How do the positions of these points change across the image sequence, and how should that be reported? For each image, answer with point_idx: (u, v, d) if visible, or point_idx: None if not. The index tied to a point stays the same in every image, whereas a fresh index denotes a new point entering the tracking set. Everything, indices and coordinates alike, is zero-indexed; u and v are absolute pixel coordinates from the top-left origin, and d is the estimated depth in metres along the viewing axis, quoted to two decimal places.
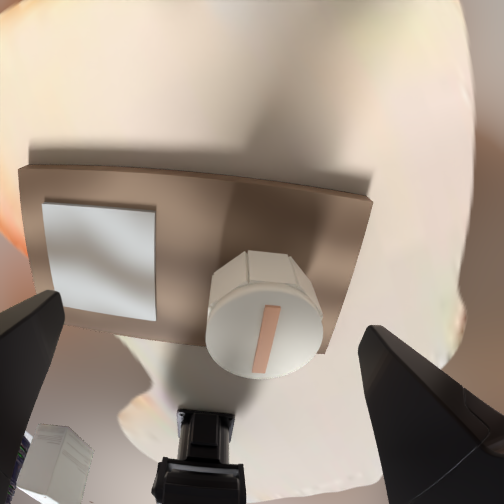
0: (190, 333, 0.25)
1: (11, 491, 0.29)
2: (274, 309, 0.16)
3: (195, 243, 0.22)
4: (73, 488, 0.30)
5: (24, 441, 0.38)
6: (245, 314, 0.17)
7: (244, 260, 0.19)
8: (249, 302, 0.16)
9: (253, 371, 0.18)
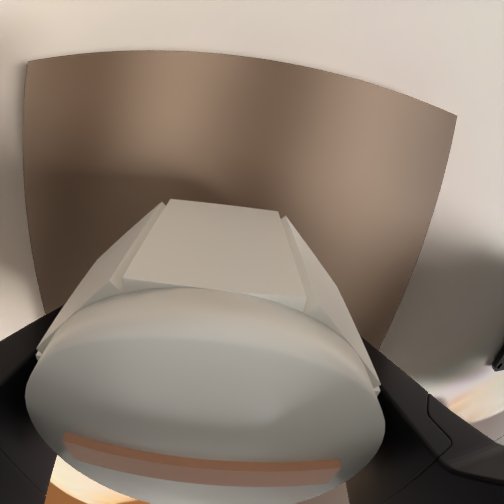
0: None
1: None
2: (70, 449, 0.04)
3: None
4: None
5: None
6: (118, 476, 0.05)
7: None
8: (84, 466, 0.05)
9: (322, 482, 0.05)
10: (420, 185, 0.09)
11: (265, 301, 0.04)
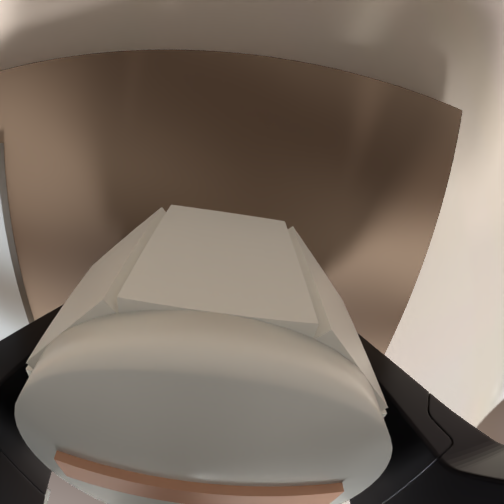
0: None
1: None
2: (62, 467, 0.04)
3: (72, 205, 0.09)
4: None
5: None
6: (111, 492, 0.05)
7: None
8: (76, 481, 0.05)
9: None
10: None
11: (274, 327, 0.04)
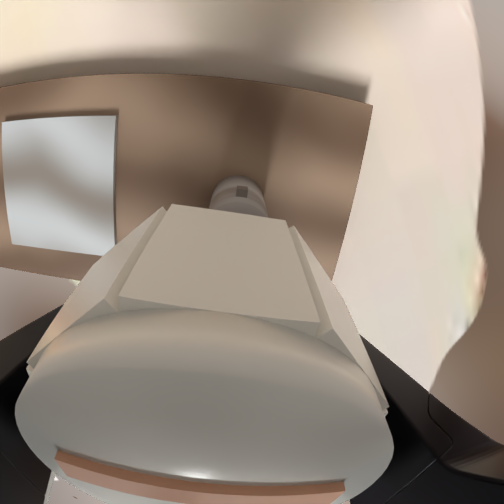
0: None
1: None
2: (63, 467, 0.04)
3: (161, 152, 0.17)
4: None
5: None
6: (112, 492, 0.05)
7: None
8: (77, 481, 0.05)
9: (324, 503, 0.04)
10: None
11: (275, 326, 0.04)
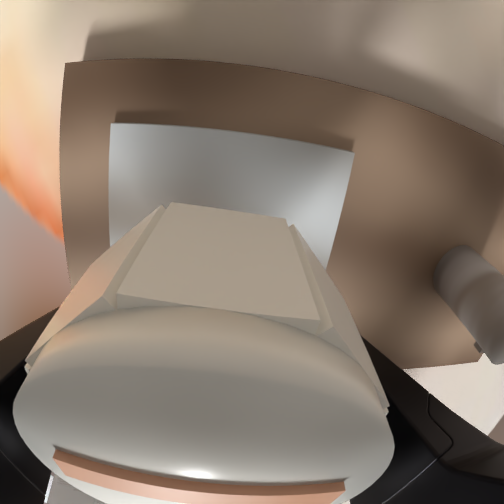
0: None
1: None
2: (61, 466, 0.04)
3: (398, 212, 0.13)
4: None
5: None
6: (111, 492, 0.05)
7: None
8: (76, 480, 0.05)
9: (325, 503, 0.04)
10: (459, 355, 0.17)
11: (275, 324, 0.04)
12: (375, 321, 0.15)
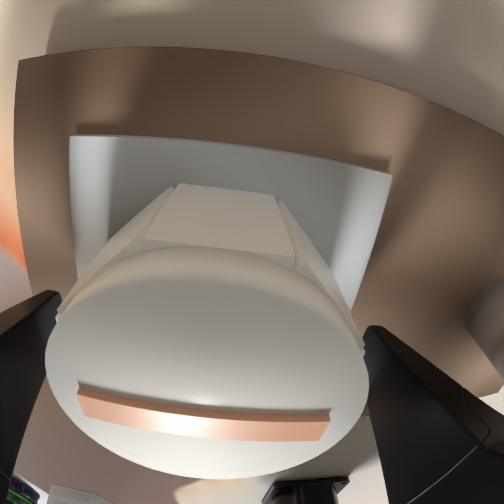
0: None
1: None
2: (83, 404, 0.05)
3: (437, 247, 0.10)
4: None
5: (32, 493, 0.26)
6: (124, 436, 0.06)
7: None
8: (92, 427, 0.06)
9: (314, 439, 0.06)
10: (480, 389, 0.14)
11: (261, 258, 0.05)
12: None
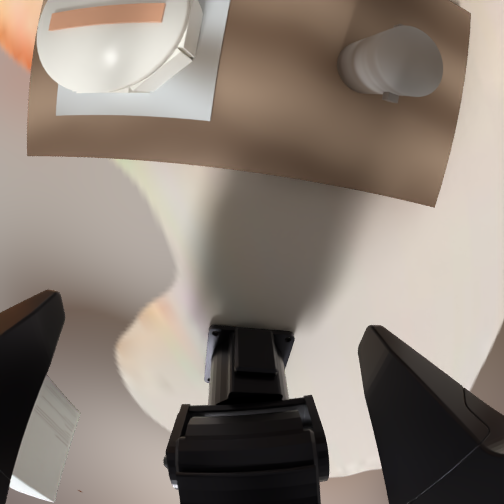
0: (259, 149, 0.16)
1: None
2: (51, 19, 0.08)
3: (284, 7, 0.13)
4: (48, 463, 0.21)
5: None
6: (61, 49, 0.09)
7: None
8: (46, 48, 0.09)
9: (158, 19, 0.09)
10: (405, 186, 0.18)
11: None
12: (284, 109, 0.15)
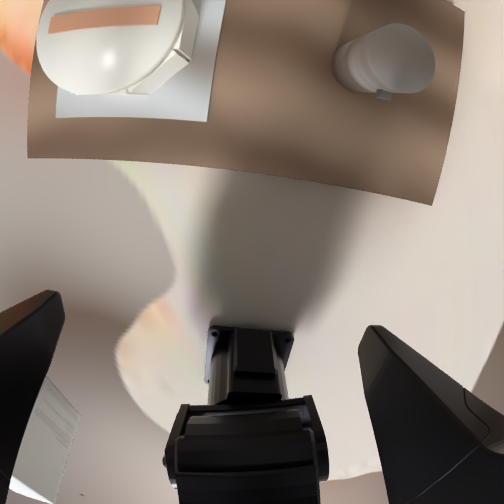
0: (256, 149, 0.17)
1: None
2: (50, 23, 0.08)
3: (279, 9, 0.13)
4: (48, 465, 0.21)
5: None
6: (60, 51, 0.09)
7: None
8: (46, 51, 0.09)
9: (153, 22, 0.09)
10: (401, 184, 0.18)
11: None
12: (279, 109, 0.16)
